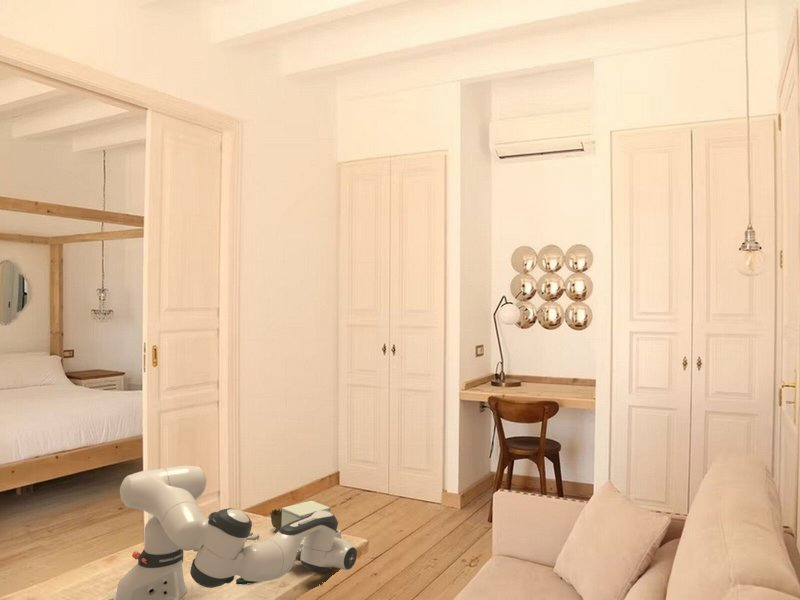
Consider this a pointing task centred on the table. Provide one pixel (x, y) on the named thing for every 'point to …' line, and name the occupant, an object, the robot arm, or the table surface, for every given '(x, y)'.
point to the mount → (243, 581)
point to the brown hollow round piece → (276, 519)
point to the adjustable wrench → (246, 539)
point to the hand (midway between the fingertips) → (298, 534)
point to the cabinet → (301, 511)
